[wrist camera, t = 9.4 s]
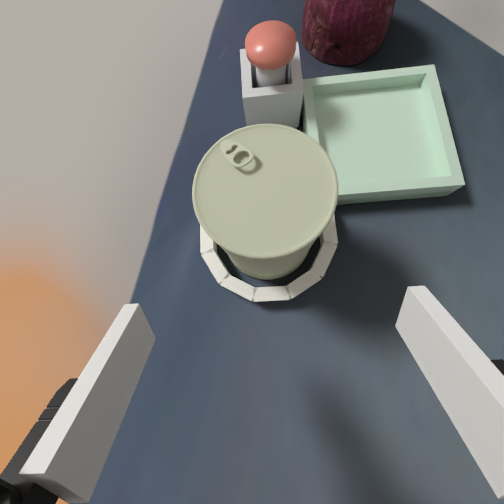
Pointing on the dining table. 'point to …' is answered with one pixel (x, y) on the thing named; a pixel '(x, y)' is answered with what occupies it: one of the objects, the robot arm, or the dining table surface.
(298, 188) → the can
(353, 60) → the vegetable
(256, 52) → the button
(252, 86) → the button post
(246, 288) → the socket ring
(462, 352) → the robot arm
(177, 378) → the dining table surface
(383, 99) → the tray
